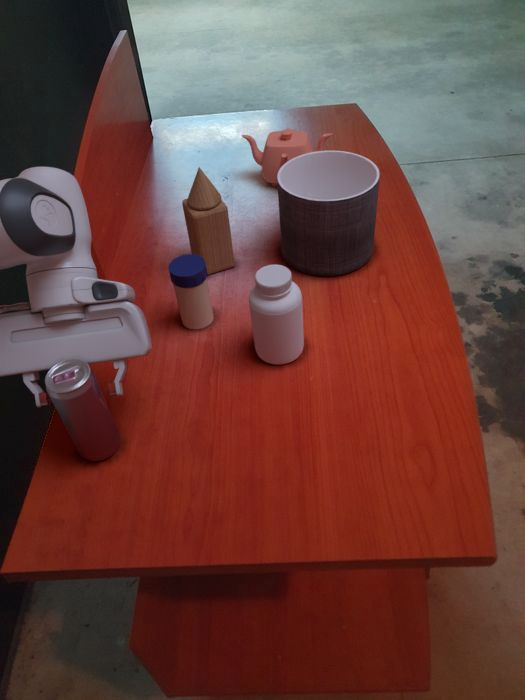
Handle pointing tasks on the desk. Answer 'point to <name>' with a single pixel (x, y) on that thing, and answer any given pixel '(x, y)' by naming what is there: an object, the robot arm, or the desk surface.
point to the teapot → (282, 150)
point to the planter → (328, 211)
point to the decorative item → (208, 225)
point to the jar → (195, 305)
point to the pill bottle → (276, 315)
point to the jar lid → (188, 270)
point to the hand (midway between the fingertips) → (80, 401)
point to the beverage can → (83, 409)
